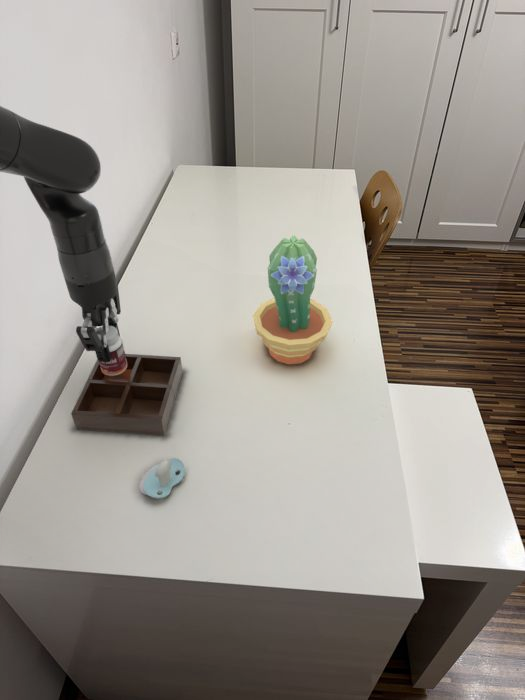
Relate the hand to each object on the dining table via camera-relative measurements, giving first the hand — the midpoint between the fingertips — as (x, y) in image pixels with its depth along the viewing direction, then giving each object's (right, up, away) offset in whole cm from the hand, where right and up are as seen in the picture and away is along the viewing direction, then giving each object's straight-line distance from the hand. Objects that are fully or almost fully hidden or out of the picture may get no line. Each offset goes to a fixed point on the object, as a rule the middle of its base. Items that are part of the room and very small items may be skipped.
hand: (109, 350), depth 88 cm
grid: (+3, -9, +3) cm, 10 cm away
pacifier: (+11, -21, -10) cm, 26 cm away
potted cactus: (+33, 0, +14) cm, 35 cm away
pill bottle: (0, -3, +3) cm, 5 cm away
